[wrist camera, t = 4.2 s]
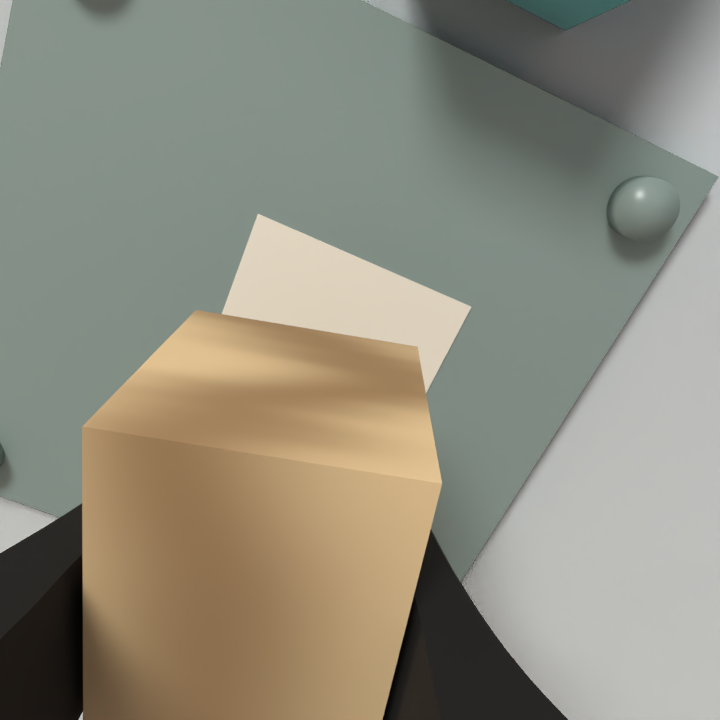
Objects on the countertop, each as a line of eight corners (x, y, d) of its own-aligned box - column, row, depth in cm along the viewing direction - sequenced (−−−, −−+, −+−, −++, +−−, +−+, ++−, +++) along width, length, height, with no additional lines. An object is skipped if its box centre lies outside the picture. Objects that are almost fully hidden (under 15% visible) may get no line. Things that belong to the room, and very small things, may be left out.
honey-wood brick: (417, 346, 12) (442, 482, 8) (360, 612, 15) (352, 836, 10) (195, 309, 12) (81, 426, 7) (177, 584, 15) (83, 799, 10)
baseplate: (706, 174, 16) (733, 179, 15) (419, 632, 23) (421, 661, 21) (55, -147, 14) (24, -172, 13) (-62, 460, 20) (-89, 482, 19)
